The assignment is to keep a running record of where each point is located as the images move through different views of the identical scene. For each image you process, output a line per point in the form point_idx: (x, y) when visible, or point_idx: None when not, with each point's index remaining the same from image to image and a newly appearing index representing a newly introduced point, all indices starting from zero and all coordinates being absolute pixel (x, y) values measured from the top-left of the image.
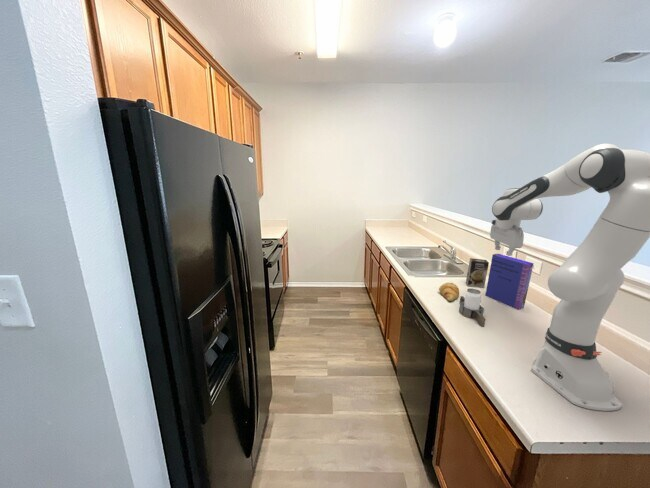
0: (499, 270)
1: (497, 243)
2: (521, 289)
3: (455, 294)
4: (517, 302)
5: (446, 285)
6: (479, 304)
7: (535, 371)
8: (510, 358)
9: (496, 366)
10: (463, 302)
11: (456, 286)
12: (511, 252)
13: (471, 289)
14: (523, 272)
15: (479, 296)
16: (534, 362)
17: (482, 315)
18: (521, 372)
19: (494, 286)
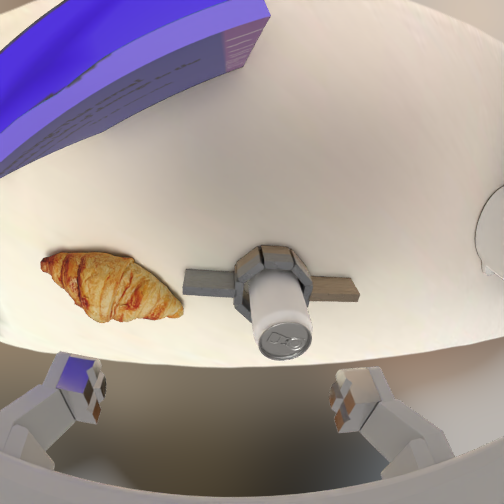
0: (73, 130)
1: (39, 430)
2: (245, 56)
3: (154, 293)
4: (236, 66)
5: (104, 316)
6: (301, 294)
7: (491, 274)
8: (454, 287)
9: (456, 321)
10: (241, 308)
11: (104, 282)
12: (386, 402)
13: (260, 338)
14: (240, 41)
15: (311, 324)
16: (479, 254)
17: (293, 252)
18: (478, 290)
19: (109, 122)
